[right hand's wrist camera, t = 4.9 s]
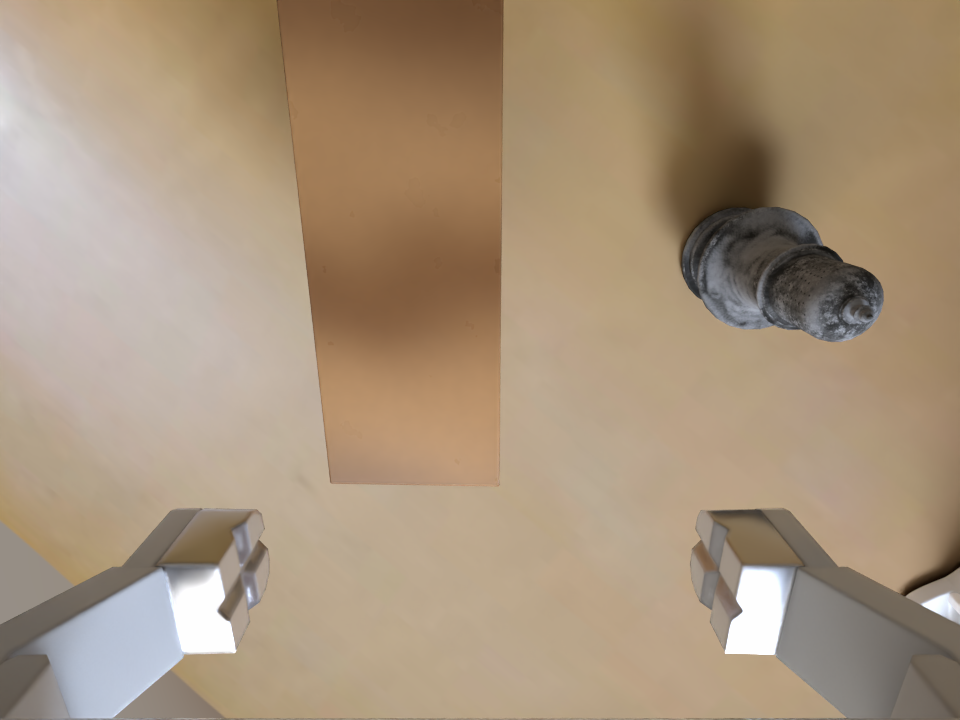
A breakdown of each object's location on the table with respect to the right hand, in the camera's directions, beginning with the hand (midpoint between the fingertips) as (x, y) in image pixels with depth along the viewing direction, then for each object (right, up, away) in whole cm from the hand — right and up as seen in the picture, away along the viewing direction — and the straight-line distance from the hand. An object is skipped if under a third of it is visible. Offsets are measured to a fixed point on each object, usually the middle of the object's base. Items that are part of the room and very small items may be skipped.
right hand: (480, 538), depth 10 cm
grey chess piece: (+14, +9, +20) cm, 25 cm away
